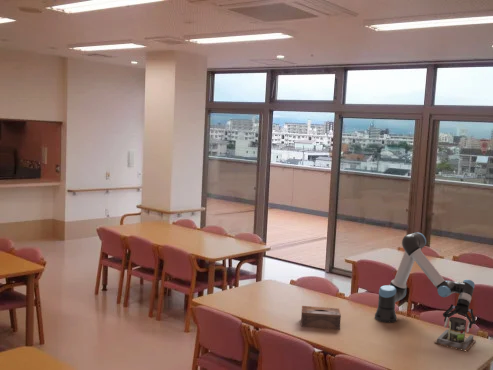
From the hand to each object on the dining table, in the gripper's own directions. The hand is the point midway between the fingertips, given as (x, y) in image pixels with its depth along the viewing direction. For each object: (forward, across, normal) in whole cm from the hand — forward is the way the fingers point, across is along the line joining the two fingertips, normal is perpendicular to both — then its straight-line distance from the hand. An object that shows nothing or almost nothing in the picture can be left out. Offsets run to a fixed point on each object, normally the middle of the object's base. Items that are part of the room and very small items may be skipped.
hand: (455, 329), depth 346 cm
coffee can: (+5, 0, -7) cm, 8 cm away
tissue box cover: (+28, +82, +14) cm, 87 cm away
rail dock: (+5, 0, -7) cm, 9 cm away
